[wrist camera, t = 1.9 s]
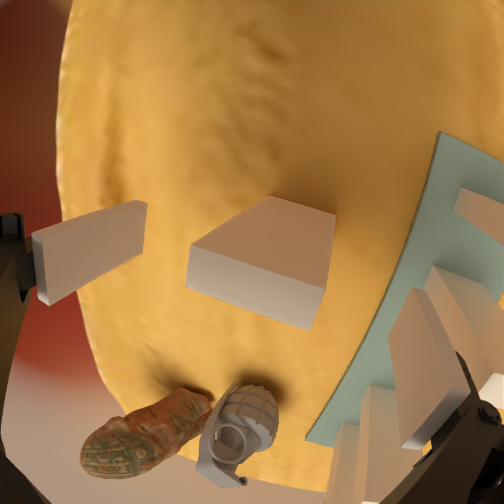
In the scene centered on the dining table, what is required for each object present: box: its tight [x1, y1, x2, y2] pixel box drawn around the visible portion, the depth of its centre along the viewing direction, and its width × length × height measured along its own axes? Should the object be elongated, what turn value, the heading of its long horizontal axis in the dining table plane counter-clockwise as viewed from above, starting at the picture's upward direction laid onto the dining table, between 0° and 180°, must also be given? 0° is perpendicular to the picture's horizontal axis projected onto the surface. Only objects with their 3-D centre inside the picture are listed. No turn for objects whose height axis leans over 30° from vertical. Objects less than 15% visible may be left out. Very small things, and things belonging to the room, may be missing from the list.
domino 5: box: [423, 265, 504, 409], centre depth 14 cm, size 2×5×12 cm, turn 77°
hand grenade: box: [196, 382, 279, 488], centre depth 23 cm, size 6×6×11 cm
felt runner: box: [305, 132, 504, 448], centre depth 22 cm, size 32×10×1 cm, turn 167°
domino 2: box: [324, 422, 360, 504], centre depth 20 cm, size 2×5×12 cm, turn 77°
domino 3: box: [352, 384, 423, 504], centre depth 18 cm, size 2×5×12 cm, turn 77°
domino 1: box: [185, 195, 336, 331], centre depth 16 cm, size 2×5×12 cm, turn 77°
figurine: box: [80, 387, 210, 479], centre depth 25 cm, size 8×8×15 cm
